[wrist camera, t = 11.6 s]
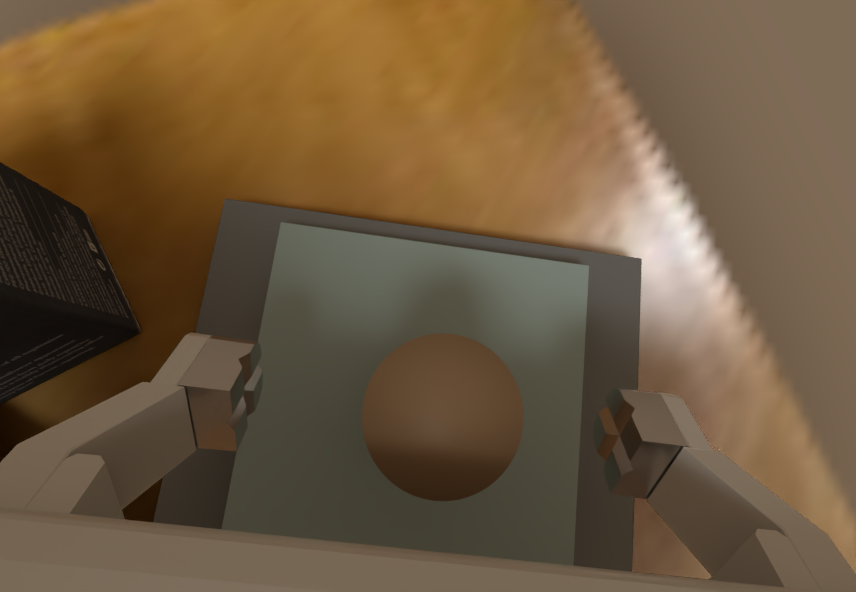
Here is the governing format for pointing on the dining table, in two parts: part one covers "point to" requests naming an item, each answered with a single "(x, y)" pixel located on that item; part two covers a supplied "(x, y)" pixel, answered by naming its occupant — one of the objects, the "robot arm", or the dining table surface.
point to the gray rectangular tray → (608, 274)
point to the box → (52, 288)
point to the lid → (416, 398)
